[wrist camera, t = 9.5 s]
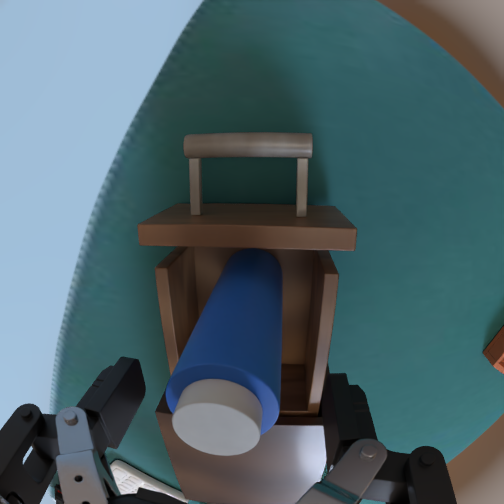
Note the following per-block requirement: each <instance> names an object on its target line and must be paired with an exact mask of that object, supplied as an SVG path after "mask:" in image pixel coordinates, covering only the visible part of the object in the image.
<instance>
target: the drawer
mask: <svg viewBox="0 0 504 504" xmlns="http://www.w3.org/2000/svg"><path fill="white" fill-rule="evenodd" d="M183 148H184V154H185V157H186V158H190V159H189V174H190V204H176V205H174V206H172V207H170V208H168V209H166V210H164V211H162V212H160V213H158V214H156V215H154V216H153V217H151V218H149V219H147V220H145V221H143V222H141V223H139V224H138V236H139V245H146V246H177V247H176V248H175V249H174V250H173V251H172V252H171V253H170V254H169V255H168V256H167V257H166V258H165V259H164V260H162V261H161V262H160V263H159V264H158V265H157V266H156V267H155V275H156V284H157V292H158V299H159V307H160V314H161V321H162V327H163V334H164V340H165V346H166V352H167V358H168V363H169V369H170V374H171V375H172V373H173V371H174V369H175V367H176V365H177V363H178V361H179V359H180V357H181V354H182V352H183V350H184V348H185V346H186V344H187V342H188V340H189V338H190V336H191V334H192V332H193V330H194V328H195V326H196V324H197V322H198V320H199V318H200V315H201V313H202V311H203V309H204V307H205V305H206V303H207V301H208V299H209V297H210V295H211V293H212V291H213V289H214V287H215V285H216V283H217V281H218V279H219V277H220V275H221V273H222V271H223V269H224V267H225V265H226V263H227V261H228V260H229V258H230V257H231V256H232V255H234V254H235V253H236V252H238V251H240V250H243V249H248V248H257V249H261V250H264V251H266V252H268V253H270V254H271V255H272V256H274V257H275V258H276V260H277V261H278V262H279V264H280V266H281V269H282V274H283V298H282V355H281V390H280V412H279V416H278V417H318V412H319V406H320V401H321V396H322V391H323V385H324V379H325V374H326V368H327V362H328V355H329V349H330V342H331V335H332V328H333V321H334V313H335V305H336V297H337V288H338V279H339V273H338V271H337V269H336V267H335V264H334V262H333V260H332V258H331V255H330V253H329V251H328V250H337V251H355V248H356V237H357V228H356V227H355V226H354V225H353V224H352V223H351V222H350V221H349V220H348V219H347V218H346V217H345V216H344V215H343V214H342V213H341V212H340V211H339V210H338V209H337V208H336V207H335V206H319V205H307V190H308V158H311V157H312V151H313V138H312V134H311V133H282V132H238V133H208V134H189V135H186V136H185V138H184V144H183ZM216 157H288V158H297V177H296V205H289V204H220V203H208V204H202V164H201V158H216Z"/></svg>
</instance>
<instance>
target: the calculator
mask: <svg viewBox="0 0 504 504" xmlns="http://www.w3.org/2000/svg"><path fill="white" fill-rule="evenodd" d="M110 467H111V470H112V473H113V476H114V479H115V482H116V484H117V487H118V489H119V491H120V493H121V495H122V494H132V493H137V491H138V488H139V487H141V488H144V489H148V490H152V491H156V492H161V493H165V494H167V495H169V496H172V497H174V498H176V499H178V500H181V501H183V502H185V503H188V501H189V500H188V499H185V497H184V495H183V492H180V491H178V490H176V489H174V488H172V487H170V486H168V485H166V484H164V483H162V482H160V481H158V480H156V479H154V478H152V477H150V476H148V475H146V474H144V473H142V472H140V471H139V470H137V469H135V468H133V467H132V466H130V465H128V464H126V463H124V462H122V461H120V460H115V461H114V462H113V463H112V464H111V465H110Z"/></svg>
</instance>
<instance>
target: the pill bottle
mask: <svg viewBox="0 0 504 504" xmlns="http://www.w3.org/2000/svg"><path fill="white" fill-rule="evenodd" d="M282 298H283V274H282V269H281V266H280V264H279V262H278V261H277V260H276V258H275V257H274V256H272V255H271V254H270V253H268V252H266V251H264V250H261V249H257V248H248V249H243V250H240V251H238V252H236V253H235V254H234V255H232V256H231V257H230V258H229V260H228V261H227V263H226V265H225V267H224V269H223V271H222V273H221V275H220V277H219V279H218V281H217V283H216V285H215V287H214V289H213V291H212V293H211V295H210V297H209V299H208V301H207V303H206V305H205V307H204V309H203V311H202V313H201V315H200V318H199V320H198V322H197V324H196V326H195V328H194V330H193V332H192V334H191V336H190V338H189V340H188V342H187V344H186V346H185V348H184V350H183V352H182V354H181V357H180V359H179V361H178V363H177V365H176V367H175V369H174V371H173V373H172V375H171V377H170V379H169V381H168V384H167V387H166V401H167V404H168V407H169V409H170V410H171V412H172V413H173V416H172V425H173V428H174V430H175V432H176V434H177V435H178V436H179V437H180V438H181V439H182V440H183V441H184V442H185V443H187V444H188V445H190V446H191V447H193V448H195V449H197V450H200V451H202V452H206V453H209V454H214V455H222V456H230V455H238V454H242V453H245V452H247V451H249V450H251V449H252V448H254V447H255V446H256V444H257V443H258V441H259V439H260V435H262V434H264V433H265V432H267V431H268V430H269V429H271V427H272V426H273V425H274V424H275V422H276V421H277V419H278V416H279V412H280V390H281V355H282Z"/></svg>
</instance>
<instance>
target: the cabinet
mask: <svg viewBox="0 0 504 504" xmlns="http://www.w3.org/2000/svg"><path fill="white" fill-rule="evenodd" d="M327 374H330V372H329V366H328V362H327V368H326V374H325V379H324V385H323V391H322V396H321V401H320V406H319V412H318V417H278V419H277V421H276V422H275V424H274V425H273V426H272V427H271V429H269V430H268V431H267V432H265V433H264V434H262V435H260V439H259V441H258V443H257V444H256V446H255V447H254V448H252V449H251V450H249V451H247V452H245V453H242V454H238V455H230V456H222V455H214V454H209V453H206V452H202V451H200V450H197V449H195V448H193V447H191V446H190V445H188V444H187V443H185V442H184V441H183V440H182V439H181V438H180V437H179V436H178V435H177V434H176V432H175V430H174V428H173V425H172V416H173V413H172V412H171V410H170V409H169V407H168V404H167V401H166V389H165V392H164V394H163V396H162V398H161V400H160V402H159V405H158V406H157V408H156V411H155V413H156V417H157V420H158V423H159V427H160V430H161V433H162V436H163V439H164V442H165V445H166V448H167V451H168V454H169V457H170V460H171V463H172V466H173V469H174V471H175V474H176V477H177V479H178V482H179V485H180V487H181V490H182V492H183V495H184V497H185V499H188V500H194V501H200V502H206V503H213V504H223V503H224V504H295V503H296V502H297V501H298V500H299V499H300V498H301V497H302V496H303V495H304V494H305V493H306V492H307V491H308V490H309V489H310V488H311V487H312V486H313V485H314V484H315V483H316V482H320V480H321V478H322V475H323V472H324V469H325V466H326V463H327V460H326V449H325V438H324V428H323V419H322V400H323V394H324V389H325V384H326V378H327Z"/></svg>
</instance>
